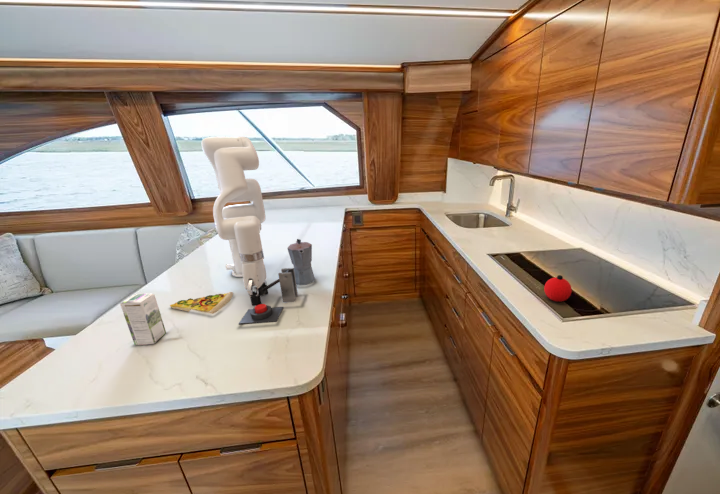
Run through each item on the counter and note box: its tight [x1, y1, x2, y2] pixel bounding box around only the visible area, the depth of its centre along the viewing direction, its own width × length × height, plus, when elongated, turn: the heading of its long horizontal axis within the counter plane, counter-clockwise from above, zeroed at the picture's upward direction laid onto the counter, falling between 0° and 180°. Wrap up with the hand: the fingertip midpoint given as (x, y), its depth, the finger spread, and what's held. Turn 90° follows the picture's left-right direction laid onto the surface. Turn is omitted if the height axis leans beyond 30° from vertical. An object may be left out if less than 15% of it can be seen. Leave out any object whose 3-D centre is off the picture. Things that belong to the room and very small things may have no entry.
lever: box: [259, 270, 293, 297], centre depth 109 cm, size 15×3×3 cm
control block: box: [238, 304, 284, 326], centre depth 101 cm, size 12×9×4 cm
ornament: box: [543, 274, 573, 303], centre depth 109 cm, size 9×9×10 cm
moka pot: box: [287, 238, 316, 286], centre depth 124 cm, size 10×15×20 cm, turn 27°
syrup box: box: [119, 292, 167, 346], centre depth 89 cm, size 6×6×14 cm
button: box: [254, 303, 267, 314], centre depth 100 cm, size 4×4×2 cm
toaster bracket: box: [278, 267, 299, 303], centre depth 110 cm, size 10×9×13 cm
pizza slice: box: [169, 291, 234, 315], centre depth 110 cm, size 16×21×3 cm
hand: (260, 299), depth 111 cm, fingers open, 7 cm apart
